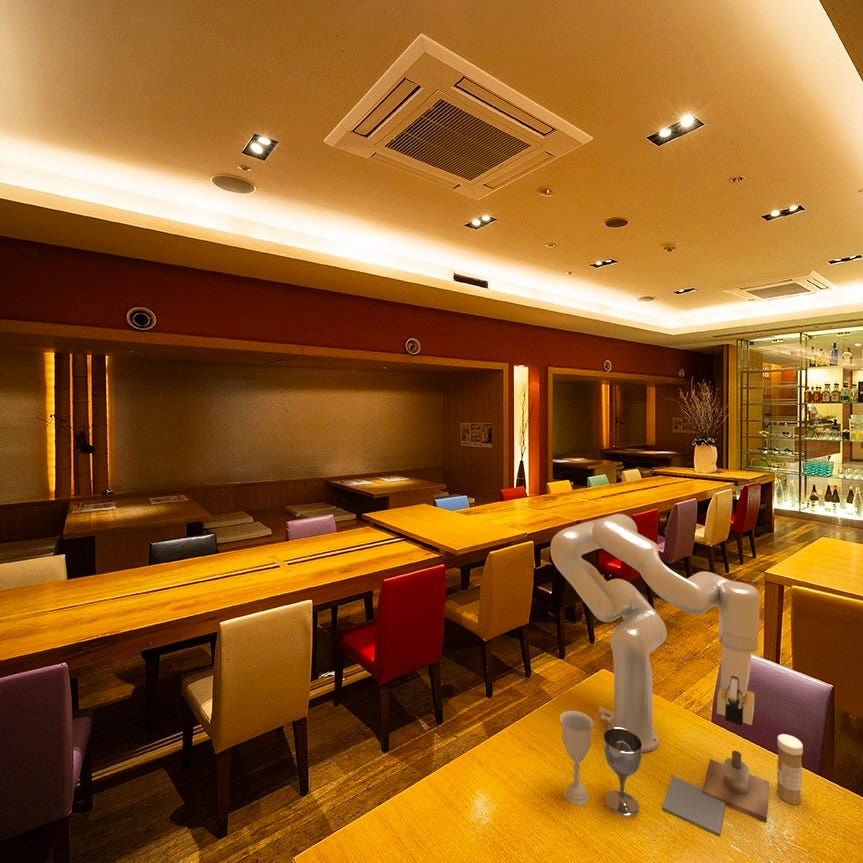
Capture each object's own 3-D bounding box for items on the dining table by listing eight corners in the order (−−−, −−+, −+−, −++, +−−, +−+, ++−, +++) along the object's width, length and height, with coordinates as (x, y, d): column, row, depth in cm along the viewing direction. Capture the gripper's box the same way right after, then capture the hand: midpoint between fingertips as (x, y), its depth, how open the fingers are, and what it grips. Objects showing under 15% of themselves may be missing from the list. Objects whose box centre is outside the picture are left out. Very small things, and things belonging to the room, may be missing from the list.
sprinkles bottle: (777, 785, 111) (779, 730, 110) (802, 796, 108) (804, 739, 107) (774, 797, 107) (776, 740, 107) (800, 809, 104) (801, 750, 103)
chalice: (558, 803, 107) (558, 726, 106) (561, 780, 113) (561, 708, 112) (593, 812, 104) (592, 733, 103) (593, 788, 111) (593, 714, 110)
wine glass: (595, 796, 109) (595, 733, 108) (622, 784, 112) (622, 723, 111) (622, 824, 101) (622, 757, 101) (649, 811, 105) (650, 745, 104)
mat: (662, 809, 105) (662, 807, 105) (672, 778, 113) (672, 775, 113) (719, 836, 98) (719, 833, 98) (726, 800, 107) (726, 798, 107)
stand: (702, 795, 108) (702, 757, 108) (709, 763, 118) (710, 728, 117) (766, 822, 101) (767, 782, 100) (769, 786, 110) (769, 749, 110)
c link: (716, 713, 108) (717, 696, 108) (720, 698, 113) (721, 682, 113) (751, 725, 104) (752, 707, 104) (753, 709, 109) (754, 692, 109)
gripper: (723, 619, 117) (721, 689, 118) (713, 649, 103) (711, 727, 104) (760, 628, 112) (757, 700, 113) (755, 660, 98) (752, 742, 100)
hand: (735, 713), depth 109 cm, fingers closed on c link, 6 cm apart
